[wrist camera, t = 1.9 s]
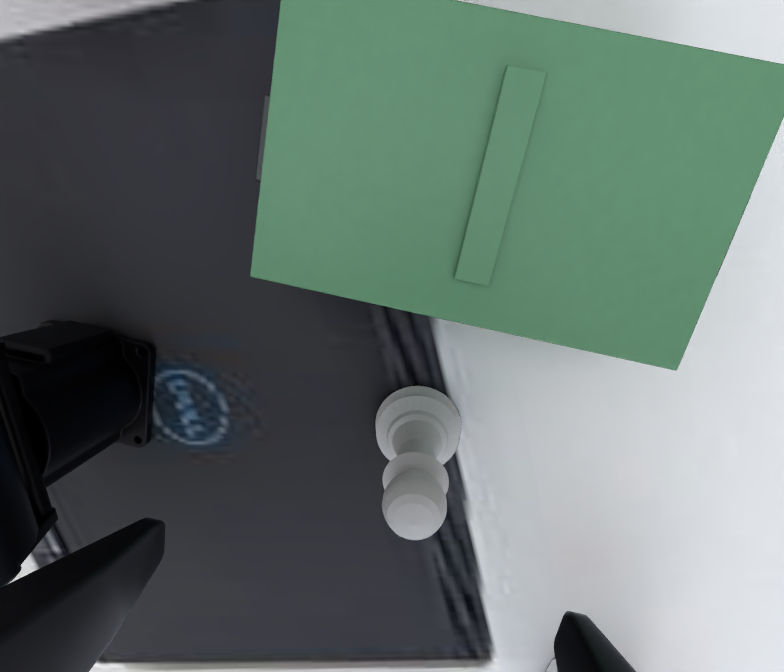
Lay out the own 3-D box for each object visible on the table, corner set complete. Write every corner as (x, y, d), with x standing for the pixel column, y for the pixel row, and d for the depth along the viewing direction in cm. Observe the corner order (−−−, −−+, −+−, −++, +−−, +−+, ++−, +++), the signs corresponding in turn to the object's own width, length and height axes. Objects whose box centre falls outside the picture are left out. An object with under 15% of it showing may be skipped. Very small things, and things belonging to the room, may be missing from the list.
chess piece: (471, 449, 22) (495, 563, 14) (392, 469, 23) (375, 589, 15) (445, 373, 21) (456, 452, 13) (364, 397, 22) (329, 486, 14)
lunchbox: (608, 331, 20) (699, 378, 13) (293, 262, 20) (230, 274, 14) (682, 130, 17) (837, 65, 11) (322, 57, 18) (262, -47, 11)
